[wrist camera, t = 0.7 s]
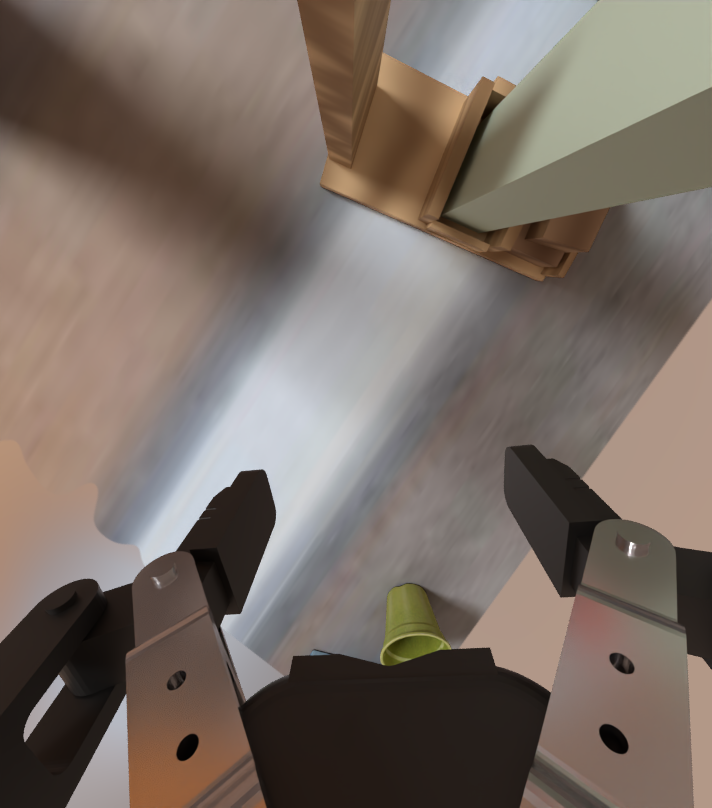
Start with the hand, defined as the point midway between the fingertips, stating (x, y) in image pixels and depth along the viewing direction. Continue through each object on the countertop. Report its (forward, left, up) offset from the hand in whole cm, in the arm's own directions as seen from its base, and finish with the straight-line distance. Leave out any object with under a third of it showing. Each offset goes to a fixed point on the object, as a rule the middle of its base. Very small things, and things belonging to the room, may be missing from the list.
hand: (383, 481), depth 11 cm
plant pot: (+38, -17, -27) cm, 50 cm away
